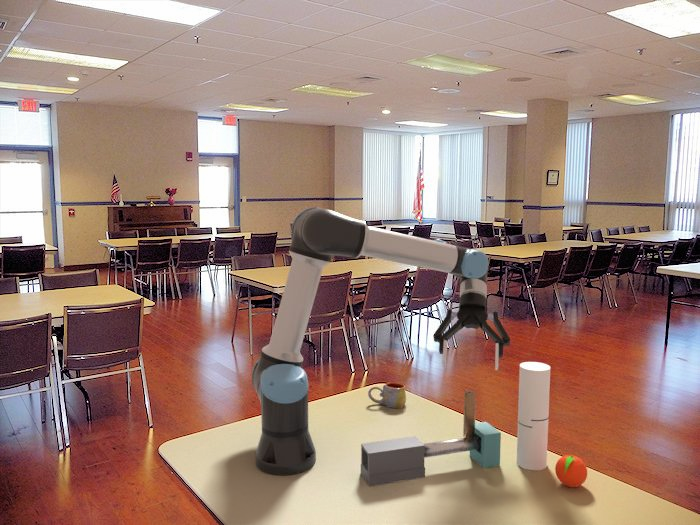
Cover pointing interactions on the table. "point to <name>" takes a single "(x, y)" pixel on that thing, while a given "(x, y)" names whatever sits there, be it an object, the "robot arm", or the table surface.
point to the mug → (391, 395)
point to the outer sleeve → (392, 460)
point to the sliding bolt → (469, 437)
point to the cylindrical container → (533, 415)
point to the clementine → (571, 471)
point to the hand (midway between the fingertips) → (470, 366)
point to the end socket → (487, 445)
